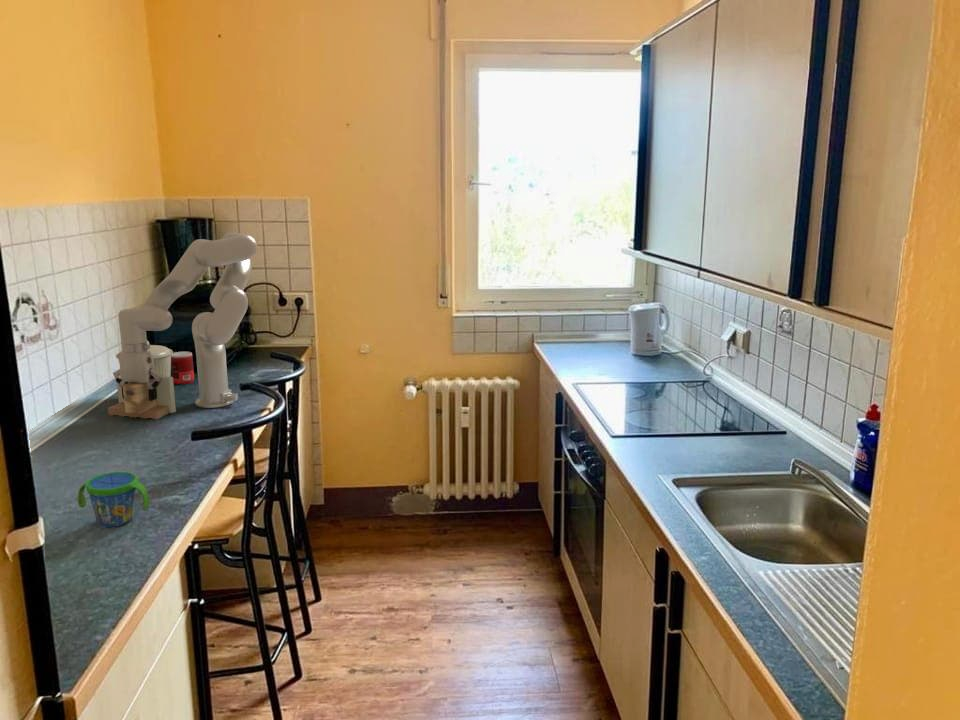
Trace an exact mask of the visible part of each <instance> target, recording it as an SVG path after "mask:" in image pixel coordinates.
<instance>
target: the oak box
mask: <svg viewBox="0 0 960 720" xmlns="http://www.w3.org/2000/svg"><path fill="white" fill-rule="evenodd" d="M150 383H151V382H150ZM148 389H150V388H149V387H148V386H147V384H146V383H133V382H130V383H127V384H125V385H123V394H124V403H125V412H127V413H138V414H139V413H141V412H144V411H146V410H148V409H150V408H152V407H154V406H157V402H156V399H155V400H153V401H149V394H148Z"/></svg>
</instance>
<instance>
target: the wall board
mask: <svg viewBox="0 0 960 720" xmlns="http://www.w3.org/2000/svg"><path fill="white" fill-rule="evenodd" d="M120 377H121V374H120ZM155 380H156V379H155ZM155 380H154V381H155ZM115 381H116V380H115ZM129 383H130V382H129ZM156 390H157V399H156V402H157V406H154V407H152V408H150V409H148V410H146V411H144V412H141V413H139V414H138V413H127V412H125V403H124V399H123V396H122V388H121V387H120V386H119V383H118V382H117V381H116V391H117V399H118V403H116V404H114V405H111V406H109V407H108V408H107V410H108V416H113V415H119V416H118V417H124V416H129V417H128V418H136V417H141V418H140V419H147V418H154V419H153V420H159V419H161V418H163V417H165V416H167V415H169V414H168V413H170V414H171V413H173V412H175V413H176V412H177V408H176V399H175V398H176V396H175V395H176V394H175V384H174V383H173V377H172V376H170V377H165V376H162V379H161V383H160V384H159V385H158V387H156ZM166 414H167V415H166ZM173 414H174V413H173ZM164 415H165V416H164ZM162 416H163V417H162ZM160 417H161V418H160ZM158 418H159V419H158Z"/></svg>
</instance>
